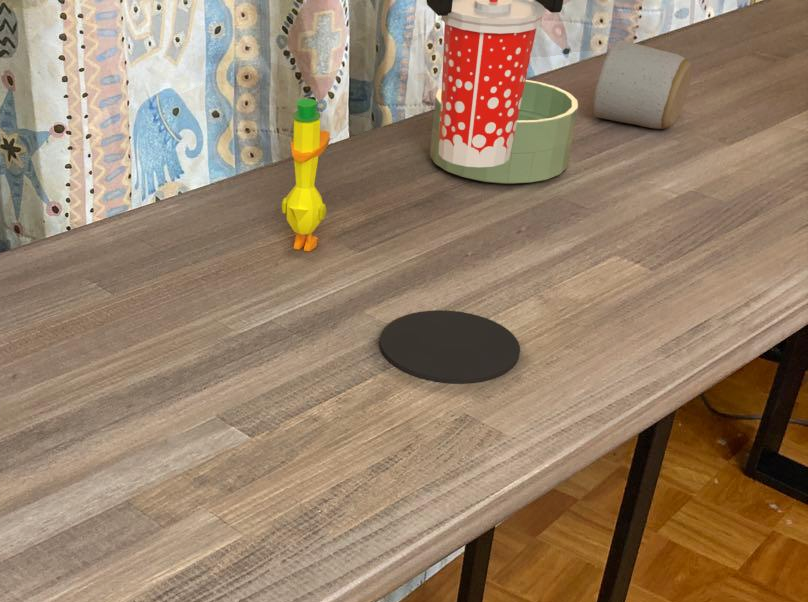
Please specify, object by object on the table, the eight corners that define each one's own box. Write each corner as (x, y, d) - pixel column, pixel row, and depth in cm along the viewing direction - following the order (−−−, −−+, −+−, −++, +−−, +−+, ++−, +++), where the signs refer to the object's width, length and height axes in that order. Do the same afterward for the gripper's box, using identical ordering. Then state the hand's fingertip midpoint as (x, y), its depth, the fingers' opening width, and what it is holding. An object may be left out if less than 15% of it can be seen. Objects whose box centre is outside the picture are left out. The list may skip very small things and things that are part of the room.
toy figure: (299, 225, 97) (304, 82, 90) (338, 232, 96) (346, 88, 89) (272, 257, 92) (274, 108, 85) (313, 264, 91) (319, 114, 84)
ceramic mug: (664, 140, 115) (683, 61, 110) (586, 125, 118) (602, 48, 113) (690, 113, 122) (709, 37, 117) (616, 99, 125) (631, 26, 120)
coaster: (520, 322, 84) (521, 317, 84) (517, 391, 76) (518, 386, 76) (387, 308, 85) (388, 304, 85) (371, 374, 78) (371, 369, 78)
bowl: (566, 143, 114) (577, 82, 110) (567, 193, 104) (579, 127, 100) (435, 133, 116) (441, 72, 112) (424, 180, 106) (430, 116, 102)
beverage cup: (530, 145, 74) (568, -95, 65) (510, 177, 70) (548, -76, 61) (440, 132, 76) (465, -103, 67) (415, 163, 71) (438, -85, 63)
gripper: (390, -384, 52) (365, 30, 63) (740, -378, 54) (655, 21, 65) (356, -382, 58) (338, -4, 69) (673, -377, 60) (606, -11, 71)
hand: (493, 5), depth 67 cm, fingers closed on beverage cup, 6 cm apart
